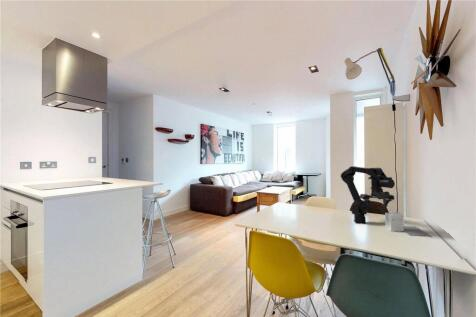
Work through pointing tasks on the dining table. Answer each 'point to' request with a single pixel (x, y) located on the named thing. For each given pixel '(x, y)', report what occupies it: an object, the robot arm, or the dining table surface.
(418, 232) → the mat
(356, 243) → the dining table surface
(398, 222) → the small box
